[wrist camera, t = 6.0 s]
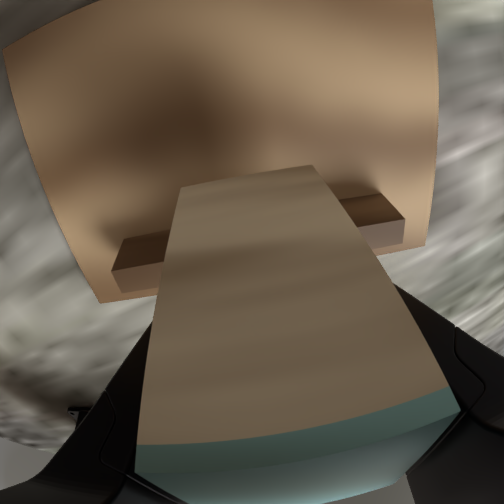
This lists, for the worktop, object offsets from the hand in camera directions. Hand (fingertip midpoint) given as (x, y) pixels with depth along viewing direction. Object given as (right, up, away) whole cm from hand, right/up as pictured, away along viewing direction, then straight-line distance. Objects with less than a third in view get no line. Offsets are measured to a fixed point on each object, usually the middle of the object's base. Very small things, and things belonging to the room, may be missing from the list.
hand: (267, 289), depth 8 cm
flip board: (-1, +6, +4) cm, 7 cm away
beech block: (0, +2, +2) cm, 3 cm away
